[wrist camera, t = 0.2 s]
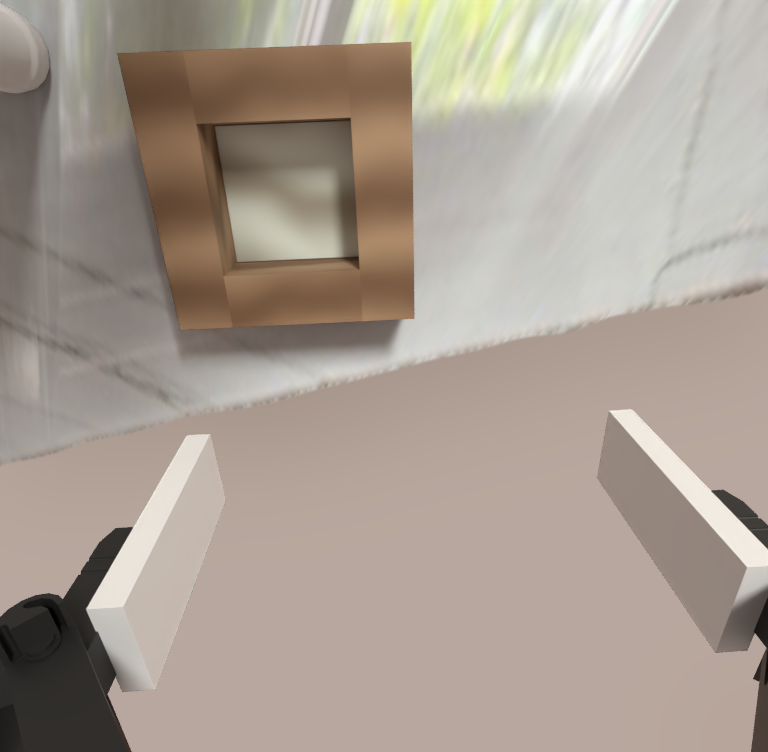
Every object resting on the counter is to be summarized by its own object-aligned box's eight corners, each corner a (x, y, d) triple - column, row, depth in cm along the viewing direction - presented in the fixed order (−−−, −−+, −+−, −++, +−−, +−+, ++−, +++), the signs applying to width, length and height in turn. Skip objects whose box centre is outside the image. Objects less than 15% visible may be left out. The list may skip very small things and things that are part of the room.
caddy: (148, 63, 35) (117, 53, 31) (404, 53, 35) (411, 42, 31) (199, 309, 43) (180, 330, 38) (409, 299, 43) (414, 318, 39)
